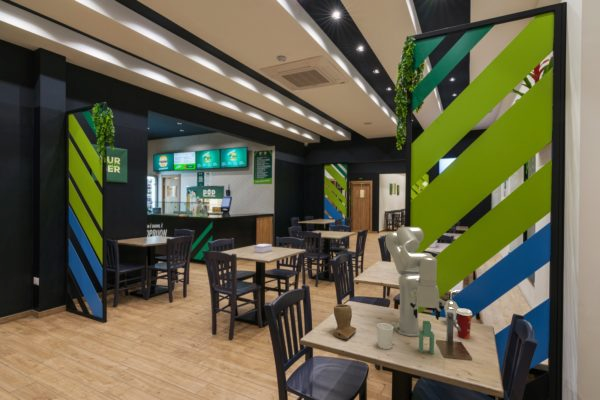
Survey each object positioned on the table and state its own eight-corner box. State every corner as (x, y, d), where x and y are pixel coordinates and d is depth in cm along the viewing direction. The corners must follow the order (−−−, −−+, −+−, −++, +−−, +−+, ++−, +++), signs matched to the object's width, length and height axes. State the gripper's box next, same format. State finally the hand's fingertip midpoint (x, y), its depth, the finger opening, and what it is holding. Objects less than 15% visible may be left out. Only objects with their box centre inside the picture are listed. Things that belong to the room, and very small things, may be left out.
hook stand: (444, 358, 148) (445, 324, 148) (435, 342, 165) (436, 310, 165) (472, 361, 146) (473, 326, 146) (461, 344, 163) (462, 312, 162)
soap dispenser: (443, 320, 194) (443, 287, 193) (459, 323, 190) (460, 289, 189) (442, 325, 186) (442, 290, 186) (459, 328, 182) (460, 293, 182)
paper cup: (473, 340, 167) (474, 313, 167) (457, 338, 169) (458, 312, 169) (469, 334, 175) (469, 308, 175) (453, 332, 176) (454, 307, 176)
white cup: (383, 351, 155) (383, 330, 154) (373, 344, 162) (373, 324, 162) (396, 348, 158) (397, 328, 158) (386, 341, 165) (386, 322, 165)
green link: (420, 353, 153) (421, 323, 153) (418, 349, 157) (419, 320, 157) (433, 354, 152) (434, 324, 152) (431, 350, 156) (432, 321, 156)
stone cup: (339, 326, 183) (339, 300, 183) (358, 331, 177) (359, 304, 176) (326, 336, 170) (327, 307, 170) (347, 342, 164) (347, 312, 164)
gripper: (409, 283, 152) (408, 319, 153) (449, 286, 149) (447, 322, 150) (407, 279, 159) (406, 313, 160) (444, 281, 156) (443, 316, 157)
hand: (426, 317), depth 155 cm, fingers open, 9 cm apart
